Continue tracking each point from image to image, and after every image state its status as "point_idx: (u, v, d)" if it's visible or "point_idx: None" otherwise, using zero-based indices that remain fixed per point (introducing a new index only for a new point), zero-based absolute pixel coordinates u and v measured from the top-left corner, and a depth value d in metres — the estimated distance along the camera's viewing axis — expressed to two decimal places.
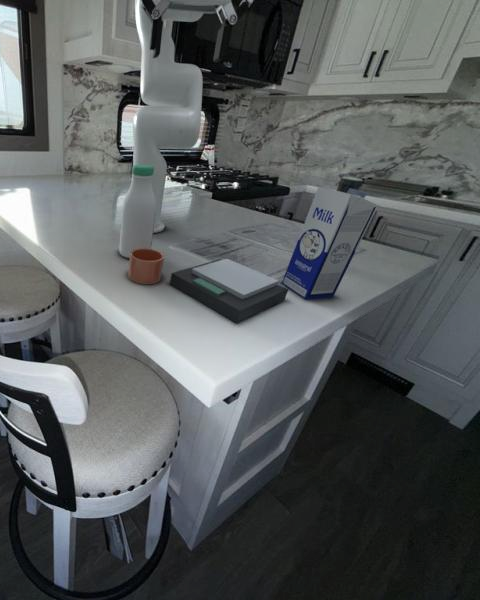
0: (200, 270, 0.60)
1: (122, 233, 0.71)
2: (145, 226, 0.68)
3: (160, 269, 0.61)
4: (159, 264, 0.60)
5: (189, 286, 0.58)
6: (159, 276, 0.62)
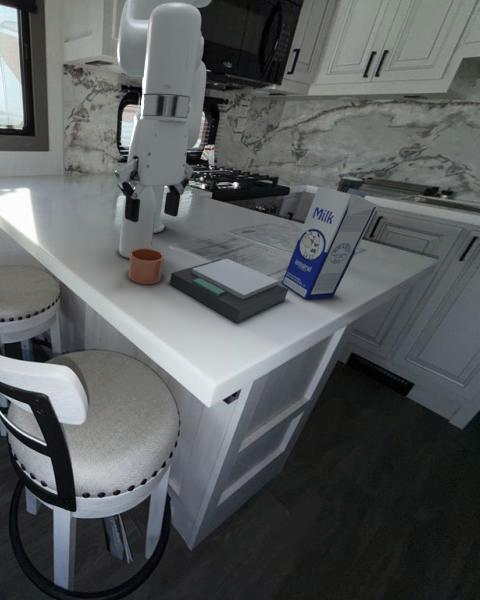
0: (200, 270, 0.60)
1: (122, 233, 0.71)
2: (145, 226, 0.68)
3: (160, 269, 0.61)
4: (159, 264, 0.60)
5: (189, 286, 0.58)
6: (159, 276, 0.62)
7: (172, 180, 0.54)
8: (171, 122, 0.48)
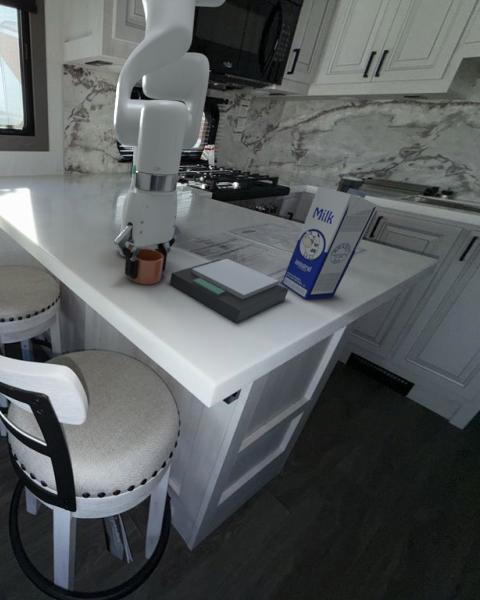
0: (200, 270, 0.60)
1: None
2: None
3: (160, 269, 0.61)
4: (159, 264, 0.60)
5: (189, 286, 0.58)
6: (159, 276, 0.62)
7: (163, 239, 0.59)
8: (161, 194, 0.53)
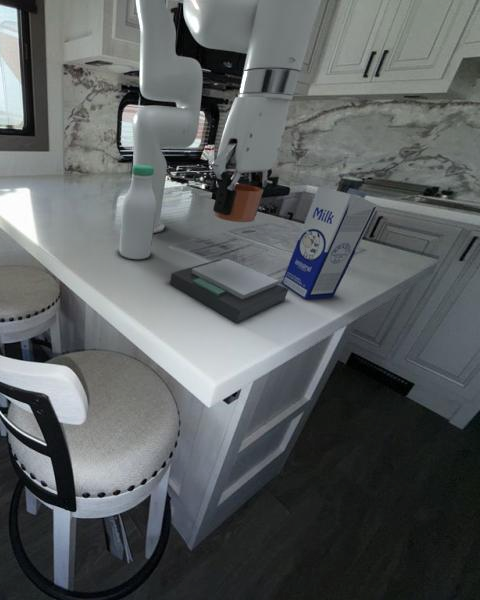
0: (200, 270, 0.60)
1: (122, 233, 0.71)
2: (145, 226, 0.68)
3: (258, 204, 0.51)
4: (259, 196, 0.50)
5: (189, 286, 0.58)
6: (255, 213, 0.52)
7: (265, 166, 0.49)
8: (277, 100, 0.43)
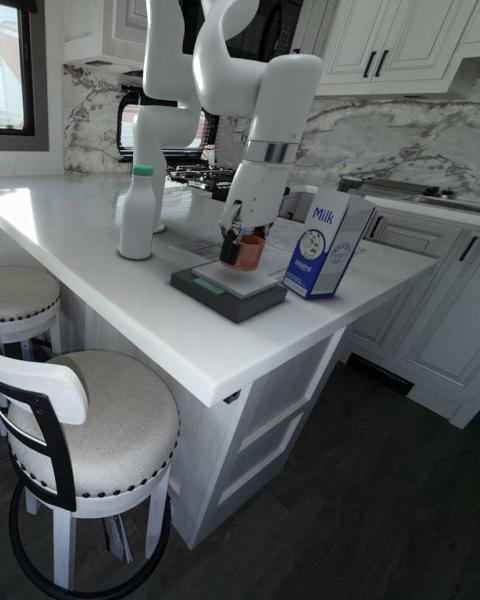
0: (200, 270, 0.60)
1: (122, 233, 0.71)
2: (145, 226, 0.68)
3: (261, 254, 0.55)
4: (262, 248, 0.54)
5: (189, 286, 0.58)
6: (258, 262, 0.56)
7: (268, 221, 0.53)
8: (278, 167, 0.47)
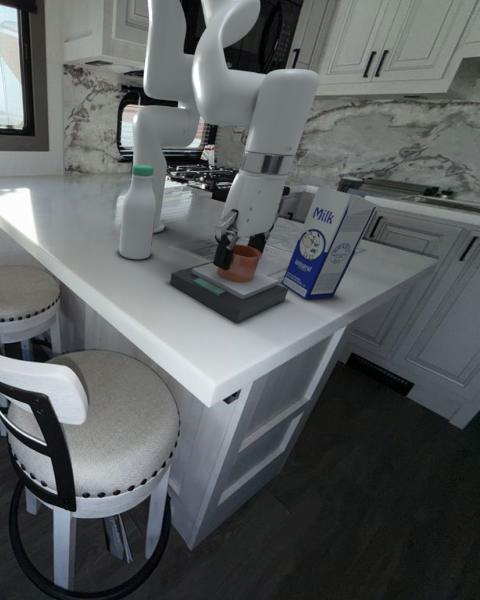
0: (200, 270, 0.60)
1: (122, 233, 0.71)
2: (145, 226, 0.68)
3: (257, 266, 0.56)
4: (258, 260, 0.55)
5: (189, 286, 0.58)
6: (254, 274, 0.57)
7: (264, 229, 0.54)
8: (275, 178, 0.48)
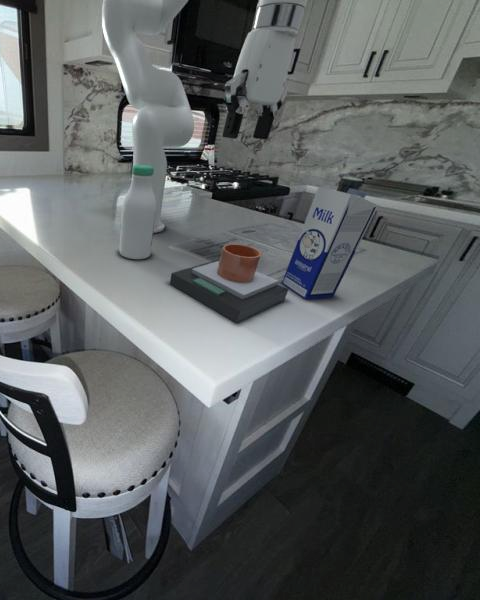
0: (200, 270, 0.60)
1: (122, 233, 0.71)
2: (145, 226, 0.68)
3: (257, 266, 0.56)
4: (258, 260, 0.55)
5: (189, 286, 0.58)
6: (254, 274, 0.57)
7: (272, 98, 0.57)
8: (284, 34, 0.51)
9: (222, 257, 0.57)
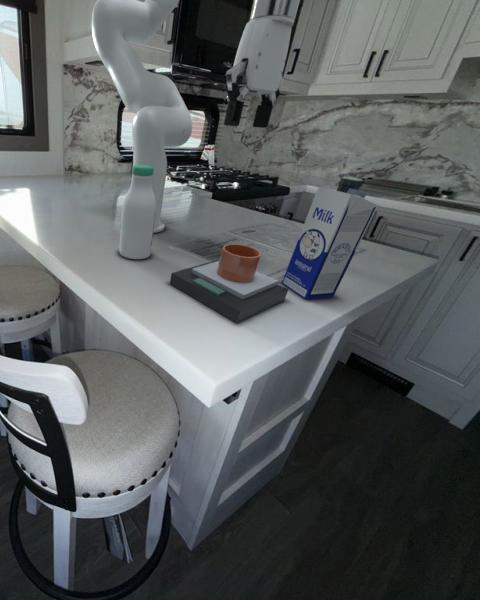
0: (200, 270, 0.60)
1: (122, 233, 0.71)
2: (145, 226, 0.68)
3: (257, 266, 0.56)
4: (258, 260, 0.55)
5: (189, 286, 0.58)
6: (254, 274, 0.57)
7: (271, 86, 0.59)
8: (281, 24, 0.53)
9: (222, 257, 0.57)
